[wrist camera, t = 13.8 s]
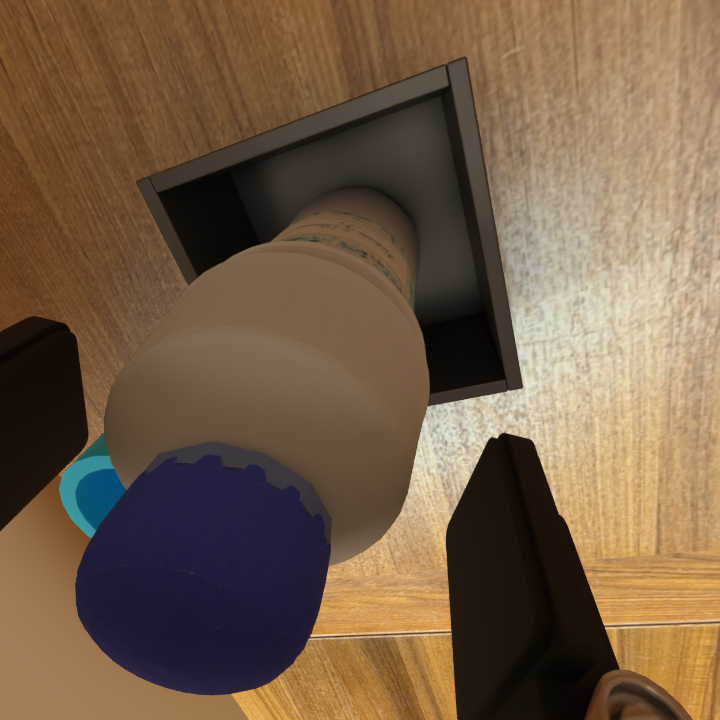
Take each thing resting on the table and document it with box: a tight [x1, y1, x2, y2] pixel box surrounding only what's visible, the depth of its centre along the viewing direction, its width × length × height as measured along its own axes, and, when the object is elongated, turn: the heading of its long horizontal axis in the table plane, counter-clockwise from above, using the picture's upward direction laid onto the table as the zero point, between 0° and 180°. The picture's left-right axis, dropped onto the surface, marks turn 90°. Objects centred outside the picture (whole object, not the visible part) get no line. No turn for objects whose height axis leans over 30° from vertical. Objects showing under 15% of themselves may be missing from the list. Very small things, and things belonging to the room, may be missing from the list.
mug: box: [59, 432, 126, 538], centre depth 28 cm, size 12×8×8 cm
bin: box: [136, 57, 523, 406], centre depth 20 cm, size 12×12×8 cm
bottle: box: [75, 187, 430, 695], centre depth 14 cm, size 7×7×20 cm
